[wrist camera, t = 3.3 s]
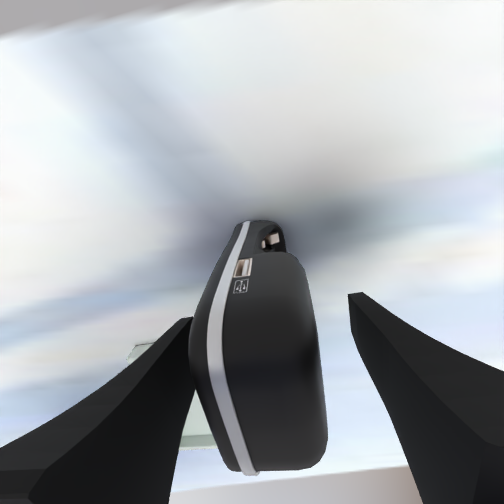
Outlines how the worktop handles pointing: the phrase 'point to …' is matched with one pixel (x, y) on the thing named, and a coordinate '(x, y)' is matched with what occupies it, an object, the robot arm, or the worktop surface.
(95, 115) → the worktop surface
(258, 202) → the worktop surface
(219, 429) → the battery charger
